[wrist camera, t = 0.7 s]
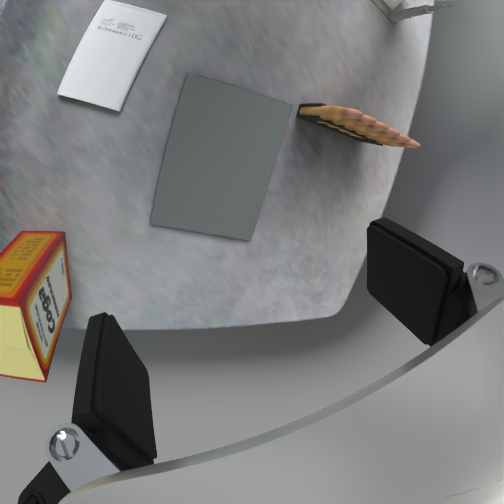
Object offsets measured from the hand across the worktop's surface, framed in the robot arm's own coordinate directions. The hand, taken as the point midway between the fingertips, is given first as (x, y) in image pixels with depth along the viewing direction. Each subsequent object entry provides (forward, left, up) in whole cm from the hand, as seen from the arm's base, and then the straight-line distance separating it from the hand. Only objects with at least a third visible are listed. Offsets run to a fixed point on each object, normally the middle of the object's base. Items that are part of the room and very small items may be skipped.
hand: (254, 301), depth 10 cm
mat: (-2, +4, -27) cm, 27 cm away
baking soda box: (+15, -16, -27) cm, 35 cm away
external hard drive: (-12, -12, -27) cm, 32 cm away
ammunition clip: (-11, +17, -27) cm, 34 cm away
